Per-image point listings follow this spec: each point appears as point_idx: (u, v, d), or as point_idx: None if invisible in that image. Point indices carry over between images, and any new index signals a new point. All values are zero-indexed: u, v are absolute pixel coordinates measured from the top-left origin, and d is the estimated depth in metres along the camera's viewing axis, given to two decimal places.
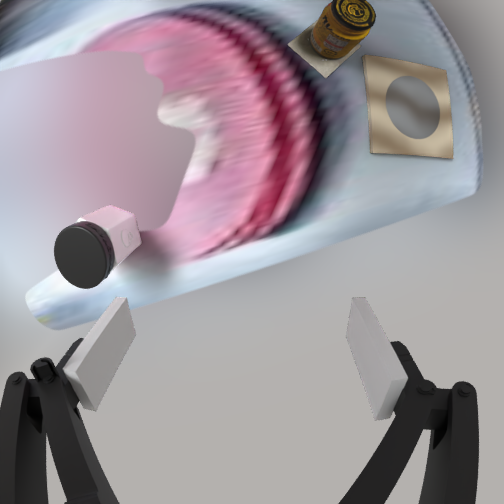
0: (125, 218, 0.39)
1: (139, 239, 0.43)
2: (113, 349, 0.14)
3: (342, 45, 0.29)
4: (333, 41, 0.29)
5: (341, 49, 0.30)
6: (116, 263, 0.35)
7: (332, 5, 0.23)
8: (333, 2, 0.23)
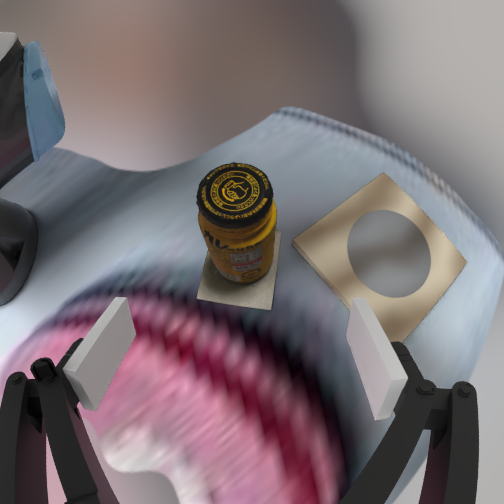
0: None
1: None
2: (113, 349, 0.14)
3: (258, 255, 0.24)
4: (243, 259, 0.23)
5: (261, 260, 0.25)
6: None
7: (200, 208, 0.20)
8: (198, 202, 0.20)
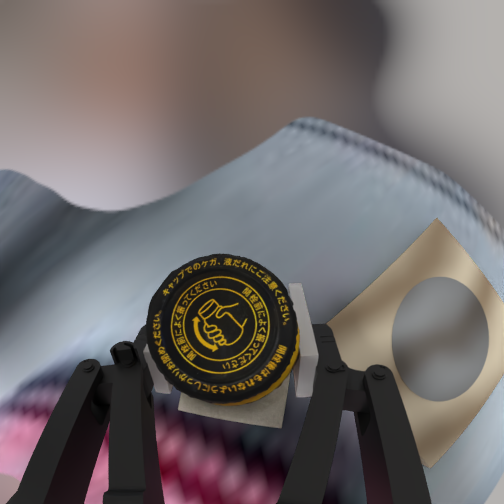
0: None
1: None
2: None
3: None
4: None
5: None
6: None
7: (152, 357, 0.09)
8: (148, 345, 0.09)
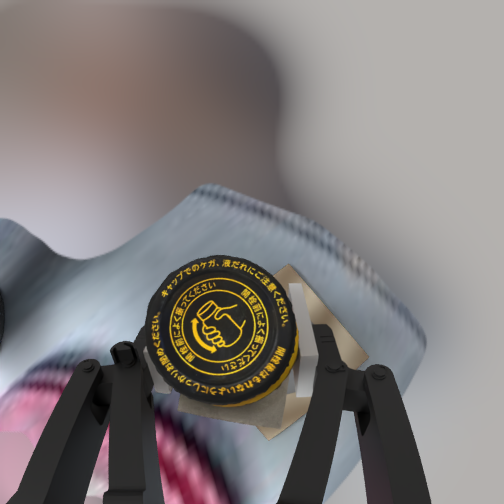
0: None
1: None
2: None
3: None
4: None
5: None
6: None
7: (151, 359, 0.09)
8: (147, 346, 0.09)
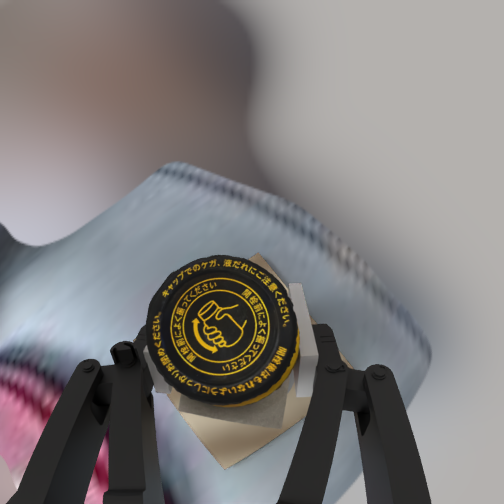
0: None
1: None
2: None
3: None
4: None
5: None
6: None
7: (152, 359, 0.09)
8: (148, 347, 0.09)
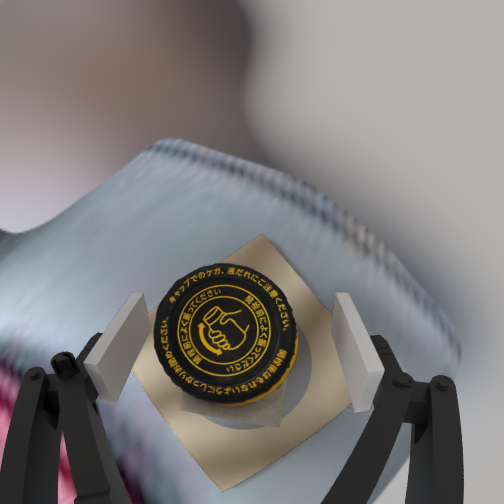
0: None
1: None
2: (131, 343, 0.15)
3: None
4: None
5: None
6: None
7: (159, 361, 0.10)
8: (156, 349, 0.10)
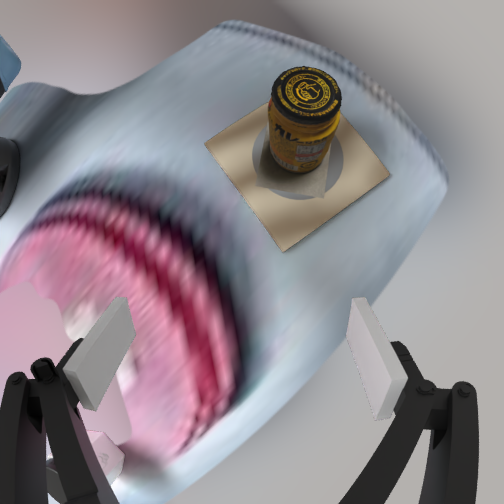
0: (91, 442, 0.30)
1: (119, 453, 0.32)
2: (113, 349, 0.14)
3: (320, 148, 0.24)
4: (308, 151, 0.24)
5: (321, 153, 0.26)
6: None
7: (276, 104, 0.20)
8: (274, 99, 0.20)
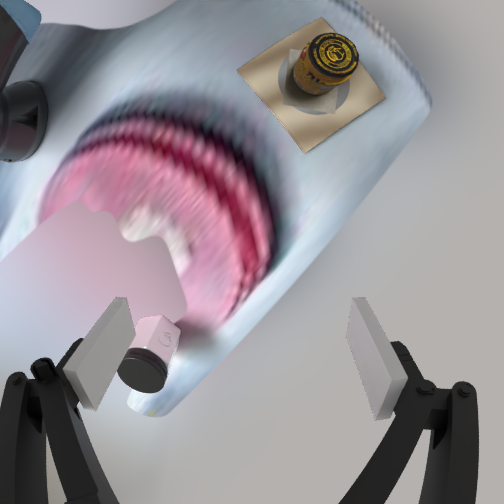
0: (156, 325, 0.48)
1: (177, 329, 0.51)
2: (113, 349, 0.14)
3: None
4: (328, 88, 0.30)
5: None
6: (167, 364, 0.43)
7: (313, 63, 0.25)
8: (311, 59, 0.24)
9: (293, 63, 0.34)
